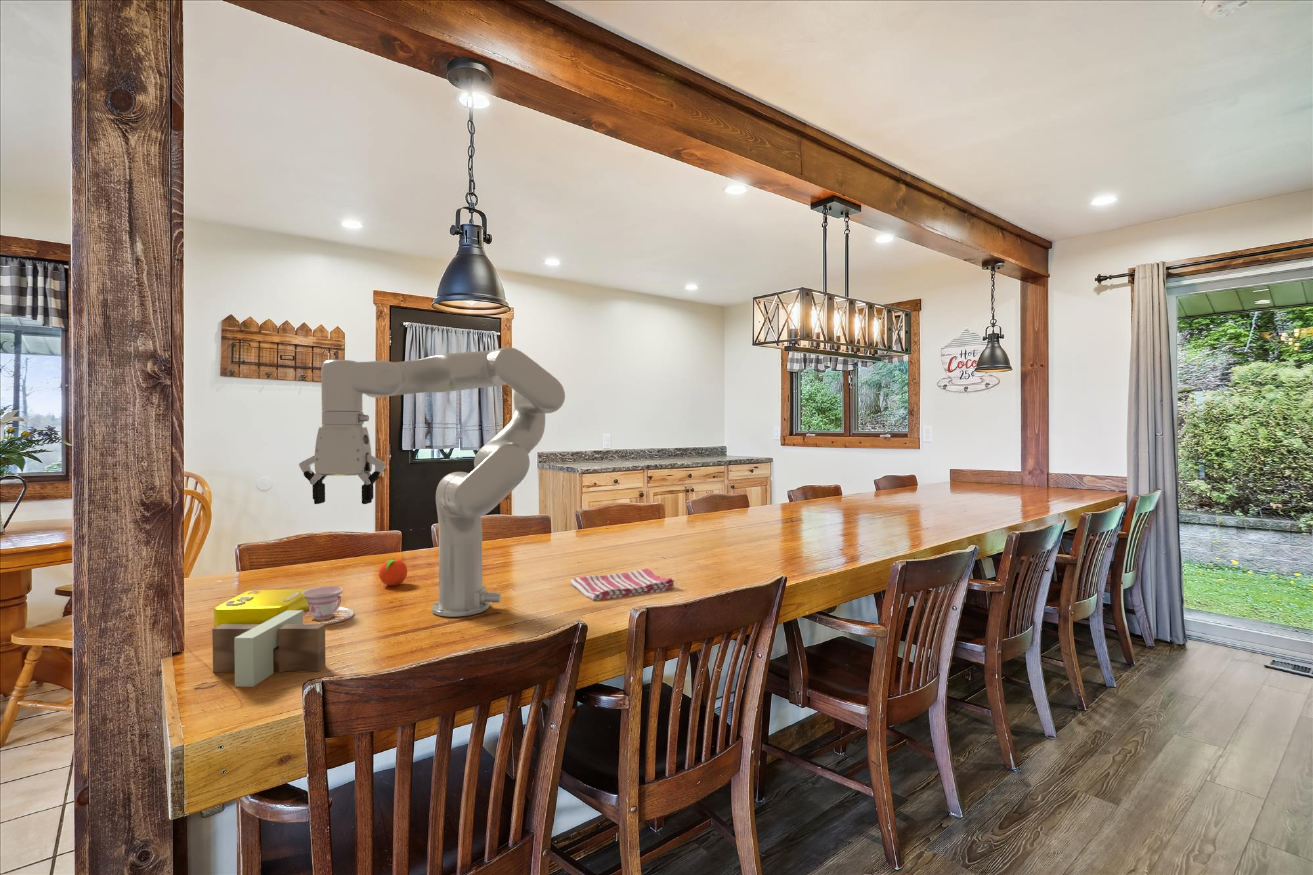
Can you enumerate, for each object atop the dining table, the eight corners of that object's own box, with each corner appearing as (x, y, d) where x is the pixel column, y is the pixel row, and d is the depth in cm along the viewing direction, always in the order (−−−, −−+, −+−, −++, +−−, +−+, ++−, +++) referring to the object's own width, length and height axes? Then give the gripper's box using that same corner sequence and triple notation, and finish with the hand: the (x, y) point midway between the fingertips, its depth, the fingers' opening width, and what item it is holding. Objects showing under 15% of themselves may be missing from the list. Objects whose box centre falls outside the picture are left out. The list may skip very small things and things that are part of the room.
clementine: (399, 589, 162) (399, 562, 162) (372, 589, 162) (372, 562, 162) (411, 582, 170) (411, 555, 170) (385, 582, 170) (385, 555, 170)
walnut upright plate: (325, 666, 112) (325, 624, 111) (318, 671, 109) (317, 628, 109) (222, 666, 111) (221, 624, 111) (212, 672, 109) (212, 628, 109)
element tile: (285, 627, 134) (285, 604, 134) (209, 629, 132) (209, 607, 132) (315, 606, 149) (315, 586, 149) (247, 608, 147) (246, 588, 147)
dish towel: (676, 591, 163) (676, 578, 163) (592, 603, 153) (592, 589, 152) (646, 577, 179) (646, 564, 178) (568, 587, 168) (568, 574, 168)
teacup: (279, 623, 136) (279, 594, 136) (325, 608, 147) (325, 581, 147) (322, 629, 132) (322, 600, 132) (366, 613, 143) (366, 586, 143)
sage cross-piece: (303, 652, 118) (303, 610, 118) (253, 686, 103) (252, 637, 103) (287, 652, 118) (286, 610, 118) (235, 686, 103) (234, 637, 103)
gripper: (392, 420, 134) (392, 501, 135) (309, 420, 134) (310, 501, 134) (377, 420, 127) (377, 505, 127) (289, 420, 126) (290, 505, 127)
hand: (343, 503), depth 131 cm, fingers open, 9 cm apart
